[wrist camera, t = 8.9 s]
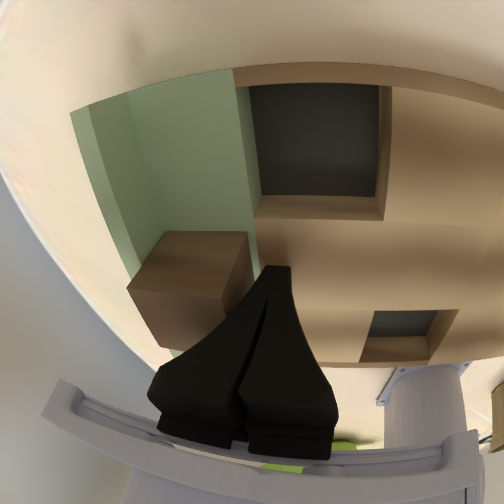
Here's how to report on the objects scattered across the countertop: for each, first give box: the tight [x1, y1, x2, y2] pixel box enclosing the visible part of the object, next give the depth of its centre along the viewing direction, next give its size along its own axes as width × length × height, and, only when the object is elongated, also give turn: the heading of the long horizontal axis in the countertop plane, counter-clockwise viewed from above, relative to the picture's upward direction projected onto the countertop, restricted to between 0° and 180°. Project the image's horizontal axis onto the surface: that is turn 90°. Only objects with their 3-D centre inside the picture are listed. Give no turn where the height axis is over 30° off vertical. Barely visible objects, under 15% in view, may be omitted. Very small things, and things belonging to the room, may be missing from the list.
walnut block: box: [127, 231, 255, 352], centre depth 13 cm, size 4×4×4 cm
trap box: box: [70, 62, 504, 368], centre depth 12 cm, size 18×30×5 cm, turn 97°
